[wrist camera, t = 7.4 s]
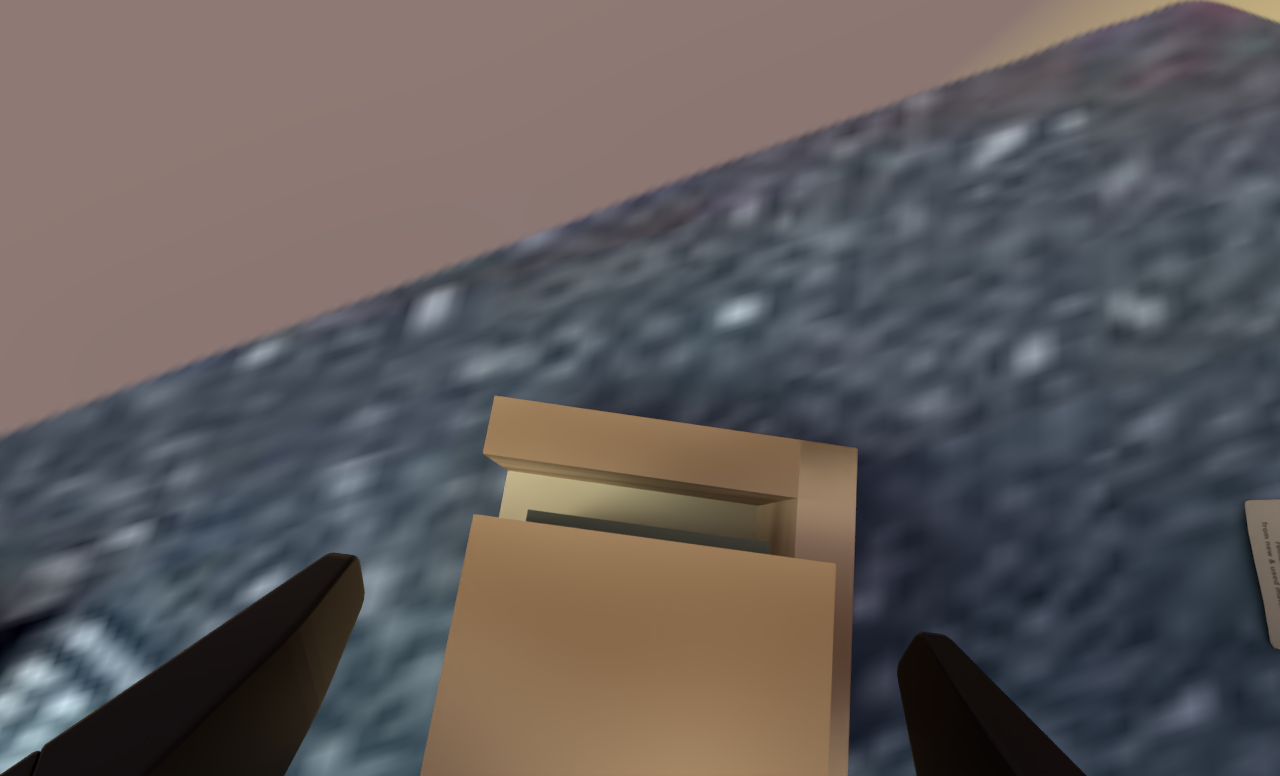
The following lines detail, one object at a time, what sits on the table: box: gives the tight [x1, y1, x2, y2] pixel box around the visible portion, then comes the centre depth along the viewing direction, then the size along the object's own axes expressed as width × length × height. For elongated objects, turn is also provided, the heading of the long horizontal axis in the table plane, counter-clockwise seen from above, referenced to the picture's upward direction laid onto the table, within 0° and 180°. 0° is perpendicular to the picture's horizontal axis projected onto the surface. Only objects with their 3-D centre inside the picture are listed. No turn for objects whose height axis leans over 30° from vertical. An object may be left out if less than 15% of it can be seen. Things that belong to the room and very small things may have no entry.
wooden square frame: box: [483, 396, 858, 776], centre depth 15 cm, size 10×10×4 cm
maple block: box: [420, 509, 836, 776], centre depth 12 cm, size 5×5×10 cm
